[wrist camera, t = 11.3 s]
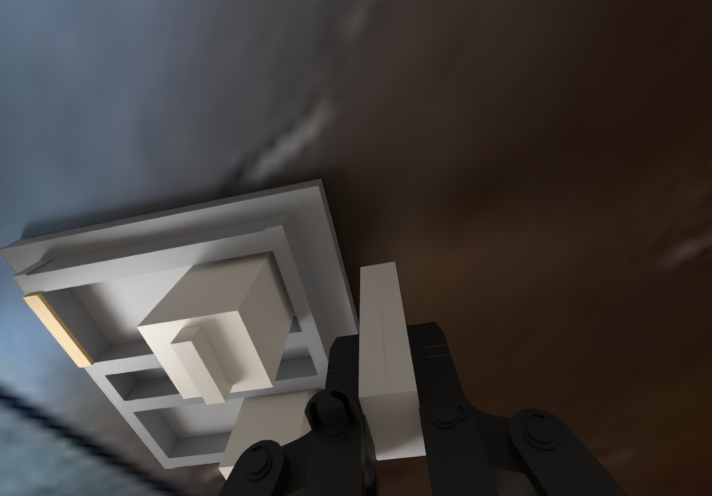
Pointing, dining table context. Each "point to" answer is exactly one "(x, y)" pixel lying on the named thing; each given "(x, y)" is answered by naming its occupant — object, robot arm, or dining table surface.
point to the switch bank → (159, 275)
